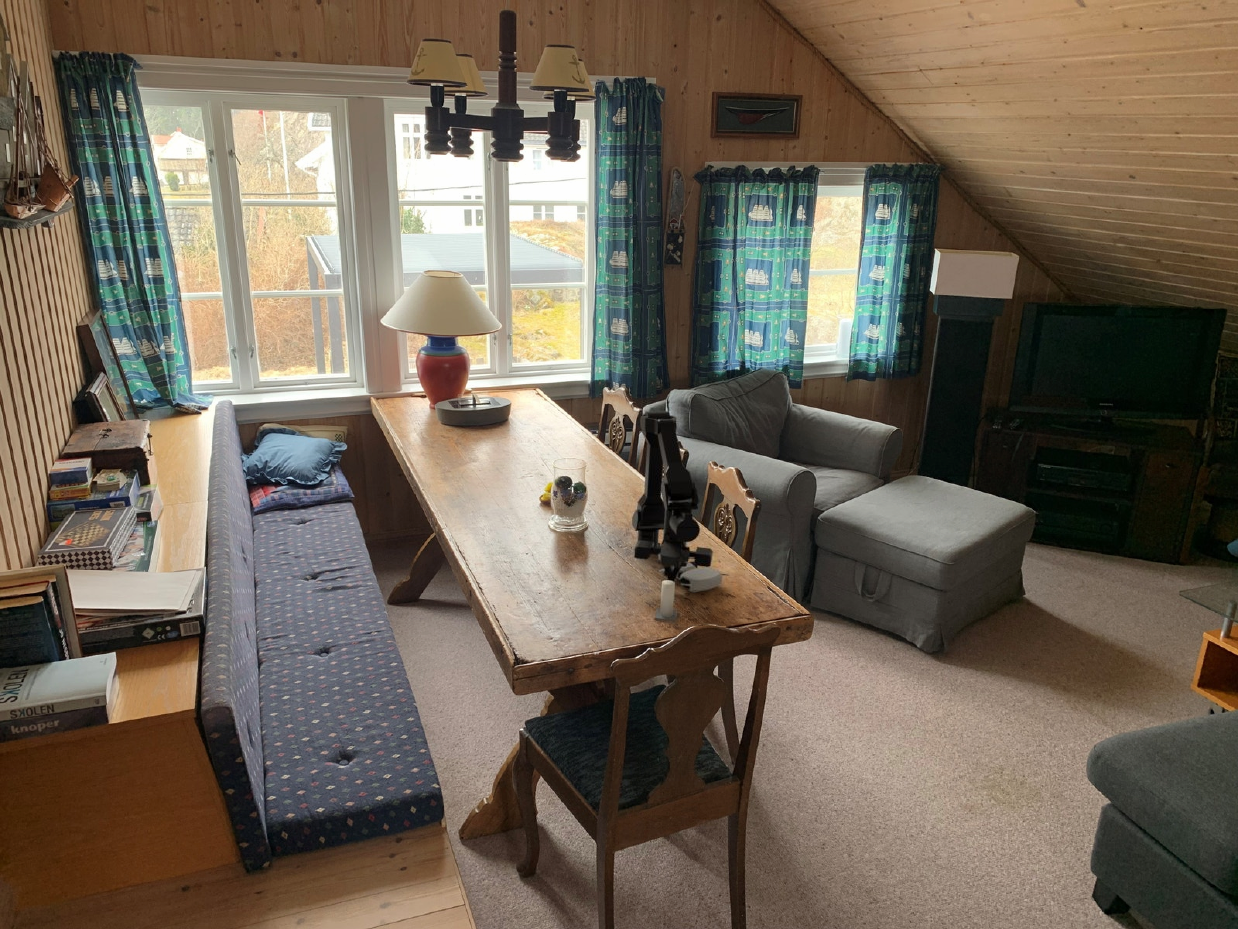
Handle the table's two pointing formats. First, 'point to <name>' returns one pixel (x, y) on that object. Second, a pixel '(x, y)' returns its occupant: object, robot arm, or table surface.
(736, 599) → the table surface
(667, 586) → the pair of white pegs
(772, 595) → the table surface
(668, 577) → the robot arm
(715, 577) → the robot toy
